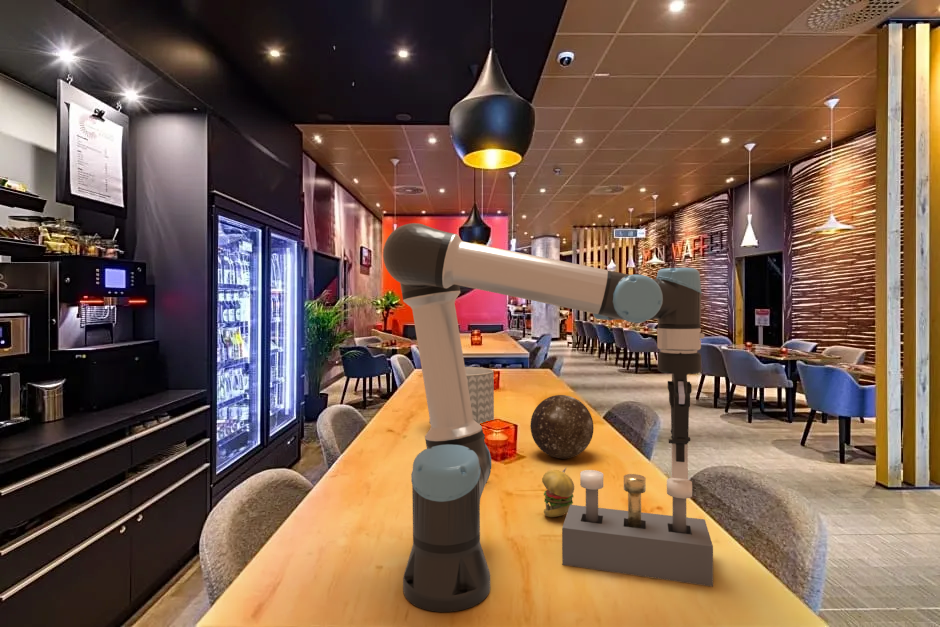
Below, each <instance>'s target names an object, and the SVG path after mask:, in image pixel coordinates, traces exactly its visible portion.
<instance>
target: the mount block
mask: <svg viewBox="0 0 940 627" xmlns="http://www.w3.org/2000/svg"><path fill="white" fill-rule="evenodd" d="M563 521H564V522H563V525H562V527H561V533H562V534H561V536H562V537H561V554H562V556H561V558H562V559H561V560H562V562H561V563H562V565H563V566H569V567H576V568H577V567H578V568H582V569H590V570H597V571H605V572H611V573H617V574H625V575H629V576H630V575H632V576H637V577H644V578H651V579H659V580H665V581H671V582H672V581H673V582H680V583H685V584H694V585H699V586H700V585H701V586H705V587H706V586H707V587H713V586H714V545H713V543H712V542H713V541H712V539H711V536H710V532H709V528H708V526H707V523H706V519H704V518H697V517H687V516H686V534H683V533H674V532H673V515H669V514H668V515H667V514H659V513H651V512H650V513H649V512H642V511H641V528H632V527H628V510H622V509H616V508H615V509H613V508H605V507H604V508H603V507H598V523H590V522H586V505H585V506H584V505H577V504H572V505H570V507H569V510H568V512H567V513H566V516H565V519H564V520H563Z"/></svg>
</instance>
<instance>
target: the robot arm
mask: <svg viewBox="0 0 940 627" xmlns="http://www.w3.org/2000/svg"><path fill="white" fill-rule="evenodd" d="M382 250H383V251H382V258H383V264H384V266H385V269H386V270H387V273H388V274H389V275H390V276H391V277H392V279H394V280H395V281H396V282H398V283H400V284H399V285H400V290H401V294H402V296H401V298H402V301H403V303H404V304H406V305H407V306H408V307H410V309H411V310H412V316H413V322H414V330H415V335H416V341H417V347H418V354H419V359H420V365H421V372H422V378H423V385H424V390H425V396H426V397H425V398H426V403H427V410H428V415H429V424H430V423H431V424H430V429H429V430H428V431H427V432H426V434H425V435H424V439H425V445H426V448H425V449H423V450H422V451H420V452H419V453H418V454H417V455H416V456H415V458H414V460H413V464H412V471H411V477H410V478H411V484H412V485H411V486H412V488H411V489H412V494H411V495H412V547H411V551H410V553H409V556H408V560H407V563H406V565H405V570H404V572H403V577H402V586H403V588H402V589H403V591H402V592H403V595H404V597H405V599H406V601H408V602H409V603H411V604H412V605H414V606H416V607H417V608H420V609H423V610H426V611H430V612H438V613H450V612H451V613H452V612H458V611H459V612H460V611H463V610H467V609H469V608H473V607H475V606H477V605H478V604H480V603H482V602H483V601H484V600H485V599H486V598H487V596H489V594H490V591H491V572H490V569H489V566H488V563H487V559H486V557H485V553H484V551H483V548H482V545H481V532H480V531H481V521H480V520H481V516H480V515H481V512H480V510H481V507H480V505H481V497H482V495H483V493H484V489H485V487H486V485H487V484H486V483H487V482H488V480H489V478H490V475H491V469H492V456H491V453H490V450H489V448H488V446H487V444H486V442H485V439H484V437H485V436H484V435H483V433H484V428H483V429H482V426H481V425H480V424H478V423H477V422H476V421H475V420H474V419H473V414H472V408H471V402H470V396H469V390H468V383H467V377H466V371H465V367H466V366H465V358H464V354H463V347H462V340H461V333H460V328H459V323H458V322H459V321H458V315H457V309H456V305H455V304H456V301H457V300H456V299H457V298H458V296H460V294H461V288H460V287H464V288H465V287H466V288H470V289H475V290H480V291H484V292H489V293H493V294H500V295H503V296H508V297H514V298H519V299H523V300H528V301H532V302H538V303H542V304H548V305H552V306H556V307H557V306H558V307H562V308H567V309H571V310H574V311H582V312H586V313H590V314H592V315H593V317H594V318H595V319H597V320H606V321H625V322H629V323H633V324H634V323H635V324H640V323H644V322H646V321H649V320H657V332H656V333H657V346H656V347H657V349H658V350H660V351H659V352H658V353H657V370H658V372H661V373H663V374H664V373H665V374H671V380H667V390H668V402H669V405H670V415H671V416H670V434H671V436H670V438H671V439H670V438H669V439H668V444H671V478H680V479H687V480H689V476H688V475H689V462H688V461H689V460H688V459H689V458H688V456H689V453H688V450H689V449H688V448H689V447H688V446H689V445H688V444H689V442H691V437H690V436H689V428H690V427H689V425H690V424H689V423H690V422H689V420H690V419H689V417H690V407H691V394H692V391H693V390H692V386H693V385H692V383H691V382H690V381H688V375H697V374H700V373H701V372H702V354H701V353H700V352H698V351H700V350H701V349H702V341H701V340H700V339H704V338H705V333H702V332H701V331H702V330H701V329H702V328H701V326H702V325H701V317H702V294H703V291H702V284H701V282H702V281H701V274H700V272H699V270H698V269H696V268H694V267H668V268H660V269H659V270H658V271H657V274H656V275H657V276H656V277H655V278H651V277H649V276H647V275H644V274H639V273H638V274H637V273H636V274H635V273H634V274H628V273H623V272H617V271H613V270H609V269H603V268H599V267H594V266H588V265H583V264H578V263H573V262H568V261H563V260H559V259H554V258H553V259H552V258H548V257H543V256H538V255H533V254H527V253H524V252H523V253H522V252H518V251H512V250H509V249H504V248H503V249H502V248H498V247H493V246H487V245H484V244H478V243H473V242H468V241H464V240H462V239H461V237H460V235H458V234H457V233H454V232H449V231H444V230H439V229H437V228H434V227H431V226H428V225H425V224H423V223H419V222H417V223H416V222H412V223H406V224H403V225H399V226H398V227H397V228H395V229H394V230H393V231H392V232H391V233H390V234H389V236H388V237H387V238H386V241H385V242H384V246H383V249H382Z"/></svg>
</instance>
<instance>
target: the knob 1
mask: <svg viewBox="0 0 940 627" xmlns="http://www.w3.org/2000/svg"><path fill="white" fill-rule="evenodd" d="M579 475H580V479H579V480H580V484H579V486H580V487H581V488H583V489H585V506H586V522H590V523H598V508H599V490H601V489H603V488H604V473H603V472H602V471H599V470H594V469H585V470H581V471H580V474H579Z"/></svg>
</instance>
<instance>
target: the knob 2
mask: <svg viewBox="0 0 940 627" xmlns="http://www.w3.org/2000/svg"><path fill="white" fill-rule="evenodd" d="M666 495H668V496H669V497H672V516H673V532H674V533H683V534H686V517H687V499H690V498H692V497H693V482H692V480H689V479H680V478H672V477H670V478H669V477H668V478H667V479H666Z"/></svg>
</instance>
